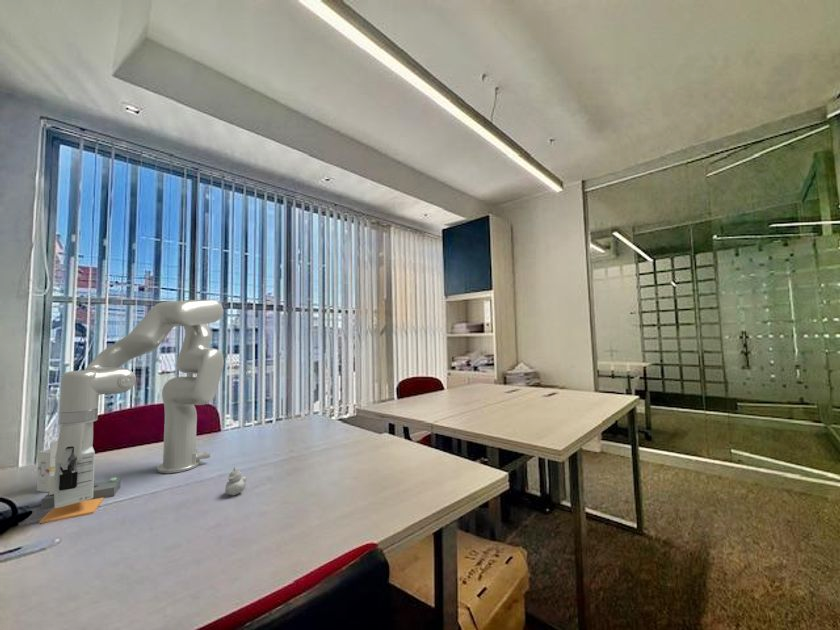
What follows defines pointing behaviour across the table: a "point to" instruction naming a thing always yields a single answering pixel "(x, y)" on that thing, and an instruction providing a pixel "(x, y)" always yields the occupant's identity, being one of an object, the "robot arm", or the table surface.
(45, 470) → the ink cartridge box
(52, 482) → the cream rectangular block
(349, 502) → the table surface
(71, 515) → the pad
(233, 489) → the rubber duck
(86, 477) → the supplement box
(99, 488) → the gray flat block
